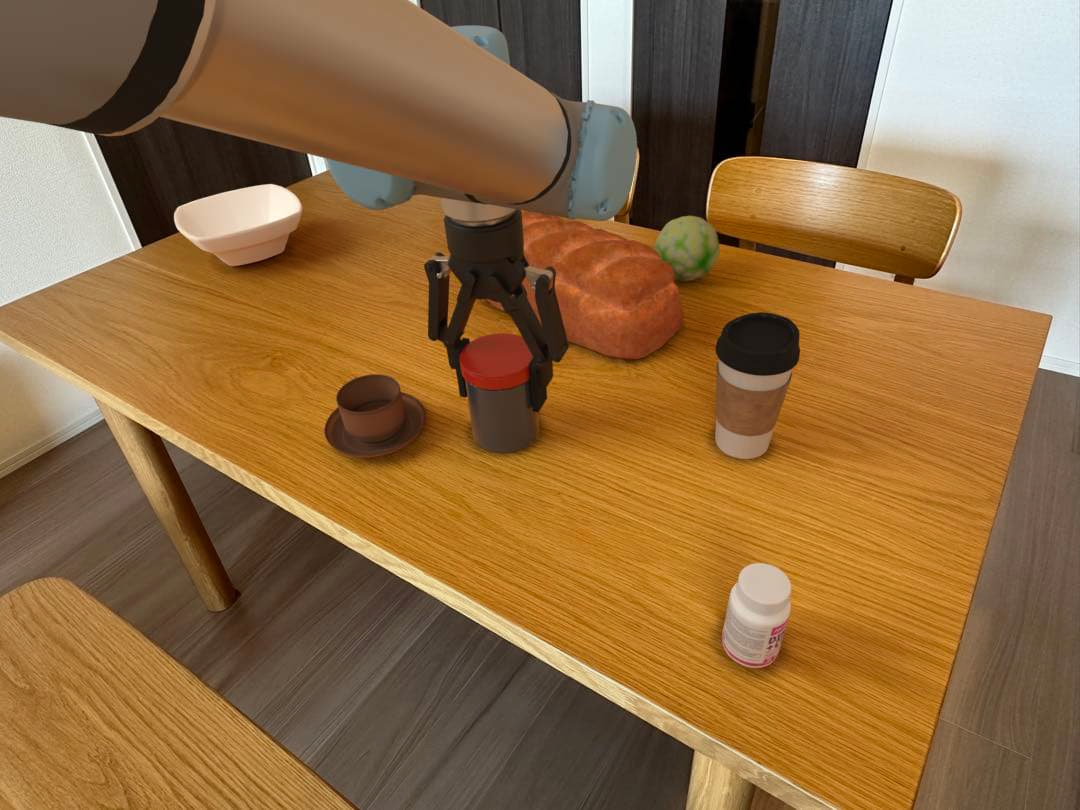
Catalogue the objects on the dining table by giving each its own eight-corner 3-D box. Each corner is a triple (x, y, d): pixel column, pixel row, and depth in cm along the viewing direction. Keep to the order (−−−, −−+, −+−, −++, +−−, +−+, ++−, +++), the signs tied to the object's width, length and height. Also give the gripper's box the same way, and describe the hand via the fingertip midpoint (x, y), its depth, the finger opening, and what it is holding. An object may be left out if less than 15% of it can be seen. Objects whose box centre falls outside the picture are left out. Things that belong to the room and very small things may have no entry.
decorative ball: (695, 299, 105) (701, 237, 99) (641, 281, 110) (643, 221, 104) (728, 274, 111) (735, 214, 105) (674, 258, 116) (678, 200, 110)
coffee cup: (796, 448, 78) (823, 335, 69) (739, 477, 75) (759, 363, 66) (743, 410, 84) (761, 301, 75) (688, 435, 81) (700, 325, 71)
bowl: (206, 293, 115) (188, 245, 110) (182, 250, 129) (164, 206, 124) (326, 257, 123) (314, 211, 118) (291, 221, 137) (278, 178, 132)
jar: (507, 462, 79) (499, 388, 72) (458, 434, 83) (447, 362, 77) (552, 426, 83) (549, 354, 77) (504, 402, 88) (497, 331, 81)
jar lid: (553, 363, 77) (552, 349, 76) (500, 400, 73) (499, 386, 72) (498, 338, 82) (497, 325, 81) (445, 371, 77) (443, 358, 76)
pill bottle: (773, 678, 57) (790, 617, 51) (715, 657, 58) (726, 596, 53) (783, 631, 60) (801, 569, 55) (728, 613, 62) (740, 551, 57)
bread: (537, 263, 117) (533, 187, 109) (695, 323, 100) (704, 239, 92) (469, 299, 109) (458, 220, 101) (628, 373, 91) (631, 284, 83)
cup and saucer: (308, 439, 84) (294, 399, 80) (384, 391, 91) (375, 352, 87) (371, 481, 77) (359, 440, 74) (448, 426, 84) (441, 385, 81)
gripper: (600, 205, 66) (600, 394, 80) (405, 186, 72) (437, 364, 86) (574, 239, 60) (579, 435, 74) (366, 215, 67) (407, 400, 81)
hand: (503, 397), depth 80 cm, fingers closed on jar lid, 8 cm apart
